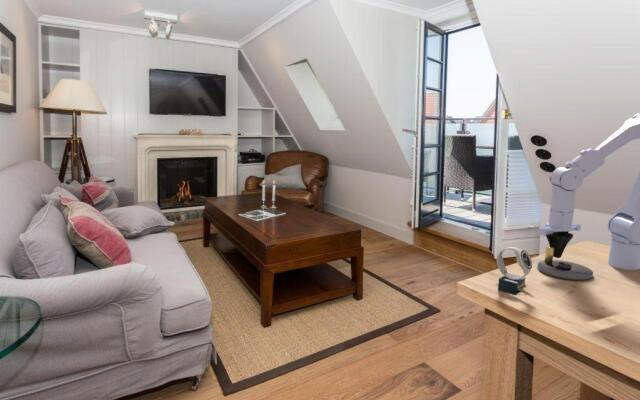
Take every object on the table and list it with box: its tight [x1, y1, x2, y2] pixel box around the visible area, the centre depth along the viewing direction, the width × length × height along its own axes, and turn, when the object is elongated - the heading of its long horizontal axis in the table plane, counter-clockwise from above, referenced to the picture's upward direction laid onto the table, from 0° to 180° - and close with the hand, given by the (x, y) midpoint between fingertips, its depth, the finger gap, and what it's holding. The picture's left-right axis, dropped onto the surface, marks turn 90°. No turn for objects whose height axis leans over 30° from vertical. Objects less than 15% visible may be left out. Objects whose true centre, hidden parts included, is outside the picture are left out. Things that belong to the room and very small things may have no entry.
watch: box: [496, 246, 533, 296], centre depth 102 cm, size 6×8×11 cm
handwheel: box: [536, 245, 594, 282], centre depth 111 cm, size 13×13×6 cm
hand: (556, 256), depth 117 cm, fingers closed
